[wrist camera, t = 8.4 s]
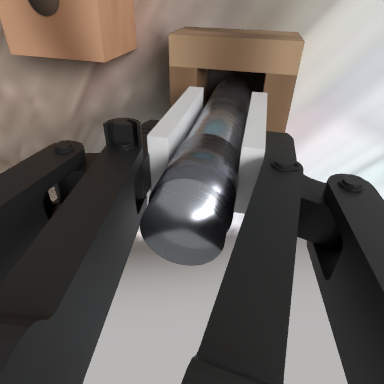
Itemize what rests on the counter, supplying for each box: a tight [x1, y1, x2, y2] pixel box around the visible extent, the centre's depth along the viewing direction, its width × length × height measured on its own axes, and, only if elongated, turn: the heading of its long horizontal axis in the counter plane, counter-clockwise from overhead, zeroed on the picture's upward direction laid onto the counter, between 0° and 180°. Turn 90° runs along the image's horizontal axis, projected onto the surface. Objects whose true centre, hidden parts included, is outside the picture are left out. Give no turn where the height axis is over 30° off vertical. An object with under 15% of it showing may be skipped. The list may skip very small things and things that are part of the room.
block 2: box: [169, 27, 305, 133], centre depth 19 cm, size 7×7×4 cm
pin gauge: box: [140, 78, 251, 266], centre depth 13 cm, size 3×3×13 cm
